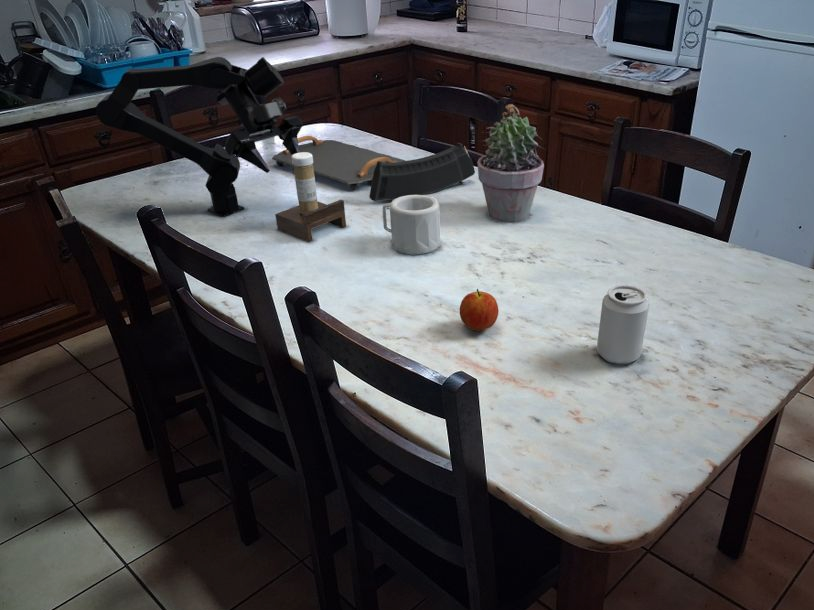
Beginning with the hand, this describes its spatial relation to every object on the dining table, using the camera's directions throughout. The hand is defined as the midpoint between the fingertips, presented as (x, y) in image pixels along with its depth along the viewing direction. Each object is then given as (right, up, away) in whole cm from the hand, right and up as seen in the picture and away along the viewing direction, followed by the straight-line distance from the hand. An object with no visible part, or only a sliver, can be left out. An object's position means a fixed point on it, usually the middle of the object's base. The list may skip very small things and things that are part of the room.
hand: (284, 166), depth 160 cm
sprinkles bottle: (+5, -10, +2) cm, 12 cm away
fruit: (+44, -38, -33) cm, 67 cm away
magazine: (+31, -1, +24) cm, 39 cm away
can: (+68, -43, -41) cm, 90 cm away
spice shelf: (+5, -13, +4) cm, 15 cm away
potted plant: (+52, -10, +10) cm, 54 cm away
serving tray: (+6, +9, +39) cm, 41 cm away
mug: (+29, -18, -3) cm, 35 cm away
